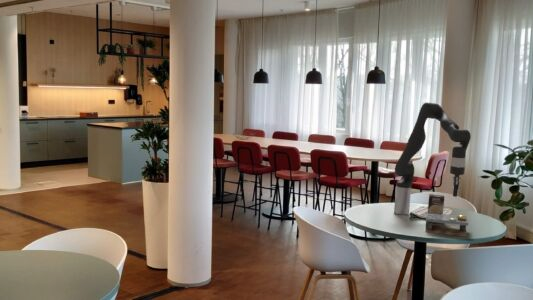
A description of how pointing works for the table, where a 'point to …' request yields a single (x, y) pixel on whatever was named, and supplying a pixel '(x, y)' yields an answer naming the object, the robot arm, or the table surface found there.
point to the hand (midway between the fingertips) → (454, 196)
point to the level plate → (447, 218)
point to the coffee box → (436, 204)
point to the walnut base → (446, 229)
